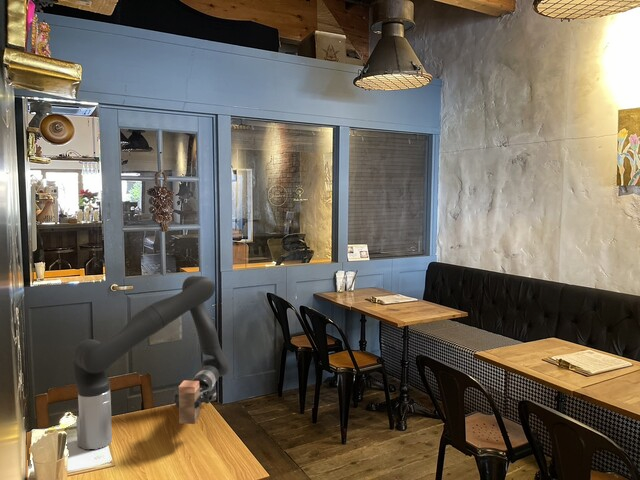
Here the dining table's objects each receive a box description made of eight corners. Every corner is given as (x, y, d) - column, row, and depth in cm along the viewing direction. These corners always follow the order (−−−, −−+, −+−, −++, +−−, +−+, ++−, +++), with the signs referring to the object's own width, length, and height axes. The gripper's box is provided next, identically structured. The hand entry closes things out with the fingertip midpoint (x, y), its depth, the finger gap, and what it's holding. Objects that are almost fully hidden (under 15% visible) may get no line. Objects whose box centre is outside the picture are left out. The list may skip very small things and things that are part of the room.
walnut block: (179, 423, 152) (178, 386, 151) (184, 416, 157) (183, 380, 156) (194, 424, 152) (194, 387, 151) (199, 416, 157) (199, 380, 156)
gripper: (181, 373, 168) (163, 393, 151) (222, 374, 167) (209, 394, 151) (182, 393, 169) (164, 416, 152) (222, 395, 168) (209, 417, 151)
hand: (186, 405), depth 151 cm, fingers closed on walnut block, 5 cm apart
